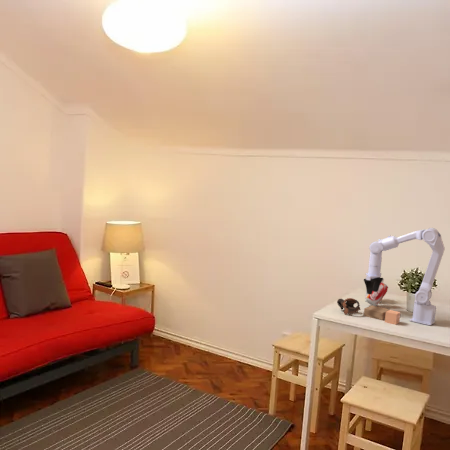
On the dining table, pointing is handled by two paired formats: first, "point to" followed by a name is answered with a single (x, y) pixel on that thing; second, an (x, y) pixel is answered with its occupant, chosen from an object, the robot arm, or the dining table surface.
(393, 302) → the dining table surface
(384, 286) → the soda can
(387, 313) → the terracotta block
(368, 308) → the light tan wooden block
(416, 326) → the dining table surface
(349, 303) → the pottery mug
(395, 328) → the dining table surface
